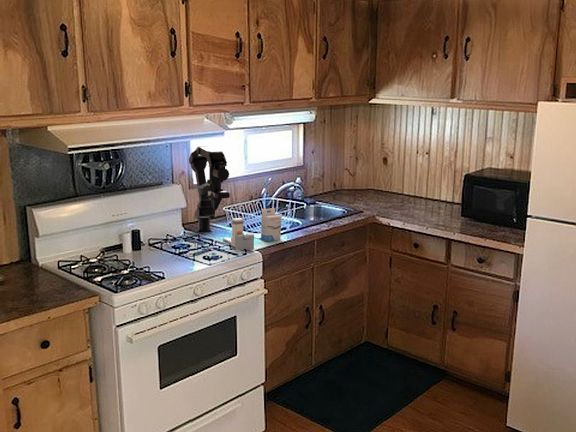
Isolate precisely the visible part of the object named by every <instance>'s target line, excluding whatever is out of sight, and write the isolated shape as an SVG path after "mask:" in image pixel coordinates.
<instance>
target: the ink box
mask: <svg viewBox="0 0 576 432" xmlns="http://www.w3.org/2000/svg"><path fill="white" fill-rule="evenodd" d="M260 223H261V226H260V227H261V229H260V240H261V241H264V242H272V241H273V242H274V241H279V240H281V236H282V235H281V234H282V233H281V232H282V215H280V214H276V207H272V208H271V207H270V208H264V209H262V210H261V222H260Z"/></svg>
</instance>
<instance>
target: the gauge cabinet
mask: <svg viewBox="0 0 576 432" xmlns="http://www.w3.org/2000/svg"><path fill="white" fill-rule="evenodd" d="M245 234H246V235H249V236H250V238H249V240H247V239H244V238H243V237H244V236H243V235H235V247H234V250H235V249H237V250H241V251H246V250H247V251H248V250H254V249H255V234H253V233H245ZM244 249H246V250H244ZM237 250H236V251H237Z"/></svg>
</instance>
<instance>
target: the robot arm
mask: <svg viewBox="0 0 576 432" xmlns="http://www.w3.org/2000/svg"><path fill="white" fill-rule="evenodd" d="M188 162H189V163H188V164H190V169H192V171H193V172H194V174H195V180H196V187H197V191H198V198H199V199H198V200H199V201H198V203H197V205H196V206H197V207H196V210H195V212H194V219H196V220H198V227H197V232H204V233H205V232H212V228H211V219H215V215H216V211H217V210H218V209H219V206H220V204H221V202H222V201H223V199H230V198H231V193H230V192H229V191H227V190H224V188H222V183H224V181H227V180H228V179H229V178H230V171H229V170H228V169H227V168H226V167H227V166H228V161H227V159H226V155H225V154H224V152H223V151H222V150H214V149H211V148H209V147H208V146H202V145H201V146H197V147H196V149H195V150H194V151H192V152H191V153H190V156H189V157H188ZM207 163H208V164H207ZM207 165H208V167H209V173H208V174H209V176H208V177H209V178H208V179H207V178H206V172H205V170H206V168H207Z"/></svg>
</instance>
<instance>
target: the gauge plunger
mask: <svg viewBox="0 0 576 432" xmlns="http://www.w3.org/2000/svg"><path fill="white" fill-rule="evenodd" d="M246 234H247V233H245V232H243V233H242V232H241V231H238V232H237V235H243V236H244V237H243V238H244V239H247V240H249V238H250V236H249V235H246Z"/></svg>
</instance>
